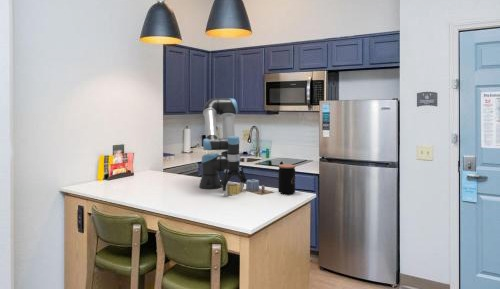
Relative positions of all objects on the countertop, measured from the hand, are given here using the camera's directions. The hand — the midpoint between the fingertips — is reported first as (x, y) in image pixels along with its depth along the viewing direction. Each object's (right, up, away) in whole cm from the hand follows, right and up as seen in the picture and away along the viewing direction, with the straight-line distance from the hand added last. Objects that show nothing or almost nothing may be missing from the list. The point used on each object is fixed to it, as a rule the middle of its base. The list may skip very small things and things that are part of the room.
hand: (233, 194), depth 232 cm
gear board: (+15, 0, +5) cm, 16 cm away
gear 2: (+12, +2, +9) cm, 15 cm away
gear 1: (0, 0, 0) cm, 0 cm away
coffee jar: (+34, 0, +4) cm, 34 cm away
